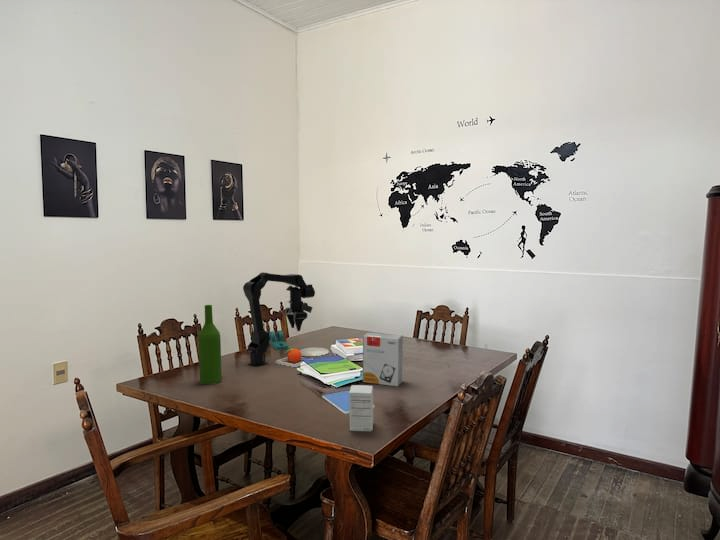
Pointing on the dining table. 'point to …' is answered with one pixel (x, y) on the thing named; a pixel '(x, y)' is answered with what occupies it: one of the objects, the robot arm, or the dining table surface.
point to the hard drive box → (382, 358)
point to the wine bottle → (209, 350)
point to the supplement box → (361, 408)
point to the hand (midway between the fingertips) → (295, 329)
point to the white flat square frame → (287, 363)
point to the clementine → (294, 355)
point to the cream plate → (314, 351)
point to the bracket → (278, 343)
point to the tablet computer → (339, 400)
